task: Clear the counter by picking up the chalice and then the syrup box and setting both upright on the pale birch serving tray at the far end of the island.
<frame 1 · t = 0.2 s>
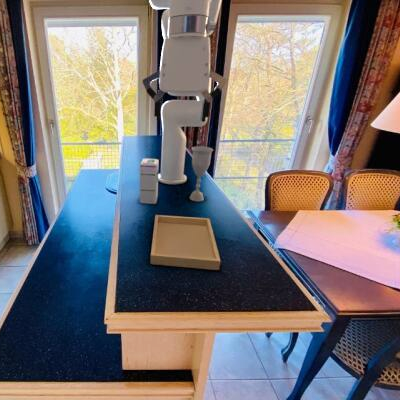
hand: (180, 120, 59), 31 cm above the breakfast bar, tool pointing down, fingers open, 9 cm apart
chalice: (196, 198, 95), on the breakfast bar
syrup box: (148, 200, 94), on the breakfast bar
tray: (182, 243, 70), on the breakfast bar
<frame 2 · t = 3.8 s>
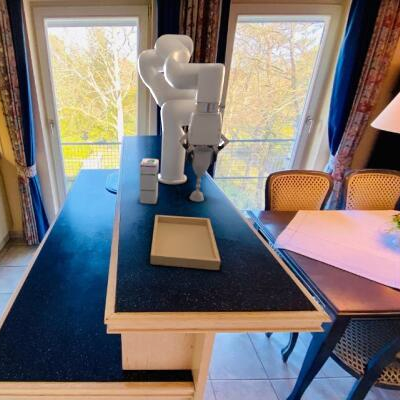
hand: (200, 163, 89), 13 cm above the breakfast bar, tool pointing down, fingers closed on chalice, 6 cm apart
chalice: (196, 198, 95), on the breakfast bar, touching gripper
everything else where it was.
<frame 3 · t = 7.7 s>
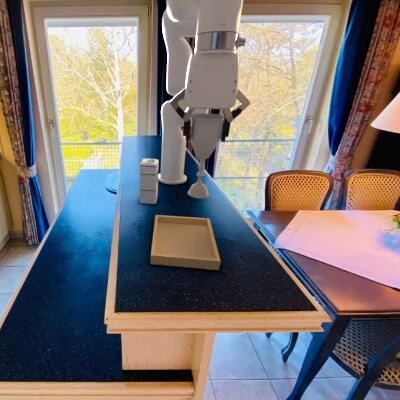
hand: (204, 139, 58), 28 cm above the breakfast bar, tool pointing down, fingers closed on chalice, 6 cm apart
chalice: (198, 194, 63), point 14 cm above the breakfast bar, touching gripper
everything else where it was.
when the fingers open (14 cm above the breakfast bar, at t = 11.6 s): chalice stays where it is, resting on tray.
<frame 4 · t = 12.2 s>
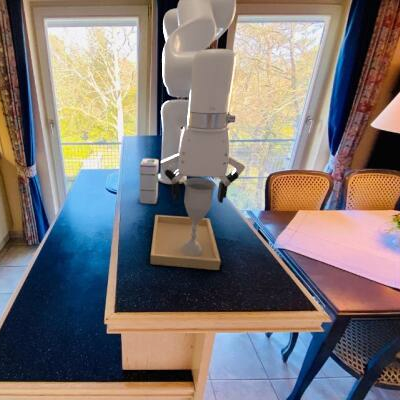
hand: (197, 198, 60), 15 cm above the breakfast bar, tool pointing down, fingers open, 9 cm apart
chalice: (191, 251, 66), resting on tray
everything else where it was.
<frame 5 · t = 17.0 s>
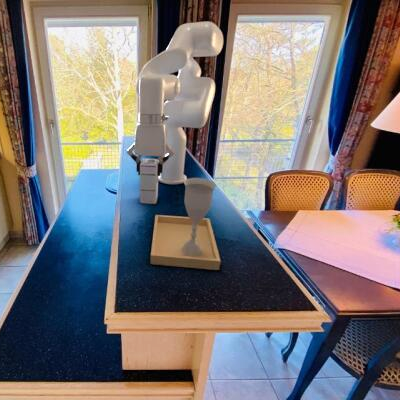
hand: (149, 173, 89), 10 cm above the breakfast bar, tool pointing down, fingers closed on syrup box, 5 cm apart
syrup box: (148, 200, 94), on the breakfast bar, touching gripper
everything else where it was.
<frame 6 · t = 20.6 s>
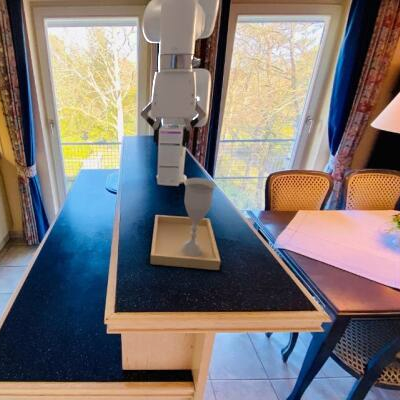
hand: (170, 144, 66), 24 cm above the breakfast bar, tool pointing down, fingers closed on syrup box, 5 cm apart
syrup box: (168, 182, 71), point 14 cm above the breakfast bar, touching gripper
everything else where it was.
when the fingers open (11 cm above the breakfast bar, at t = 24.2 s): syrup box stays where it is, resting on tray.
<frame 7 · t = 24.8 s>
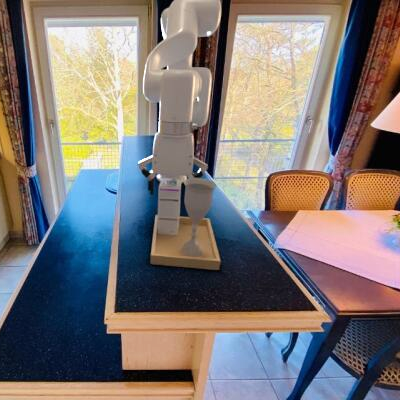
hand: (170, 194, 70), 12 cm above the breakfast bar, tool pointing down, fingers open, 9 cm apart
syrup box: (167, 230, 75), resting on tray
everything else where it was.
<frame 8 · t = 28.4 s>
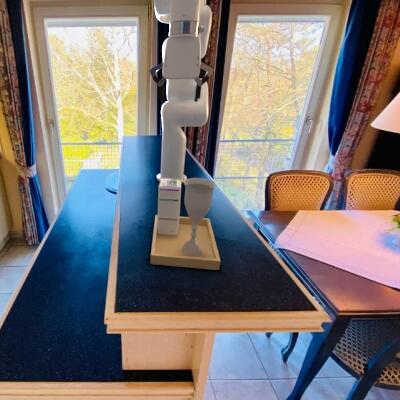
hand: (178, 101, 76), 33 cm above the breakfast bar, tool pointing down, fingers open, 9 cm apart
nothing on the breakfast bar moved.
at the end: chalice inside the target area in the tray (4.4 cm from its centre), point 0.4 cm above the tray's base; syrup box inside the target area in the tray (6.4 cm from its centre), point 0.4 cm above the tray's base; chalice tilted 0° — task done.
